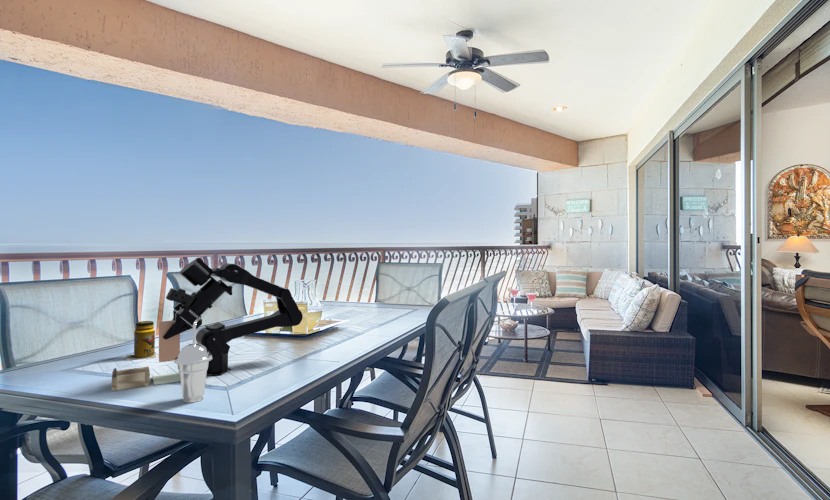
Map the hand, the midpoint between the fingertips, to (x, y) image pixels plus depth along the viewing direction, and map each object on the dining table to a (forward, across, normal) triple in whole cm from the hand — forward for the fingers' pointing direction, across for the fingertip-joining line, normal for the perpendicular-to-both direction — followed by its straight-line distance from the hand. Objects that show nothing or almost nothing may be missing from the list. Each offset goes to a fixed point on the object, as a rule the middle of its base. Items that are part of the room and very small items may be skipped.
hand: (163, 337), depth 120 cm
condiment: (+12, -34, +6) cm, 37 cm away
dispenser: (+14, 0, +3) cm, 14 cm away
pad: (+8, 0, +10) cm, 12 cm away
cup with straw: (+5, +22, +12) cm, 26 cm away
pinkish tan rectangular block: (+4, 0, +6) cm, 7 cm away
